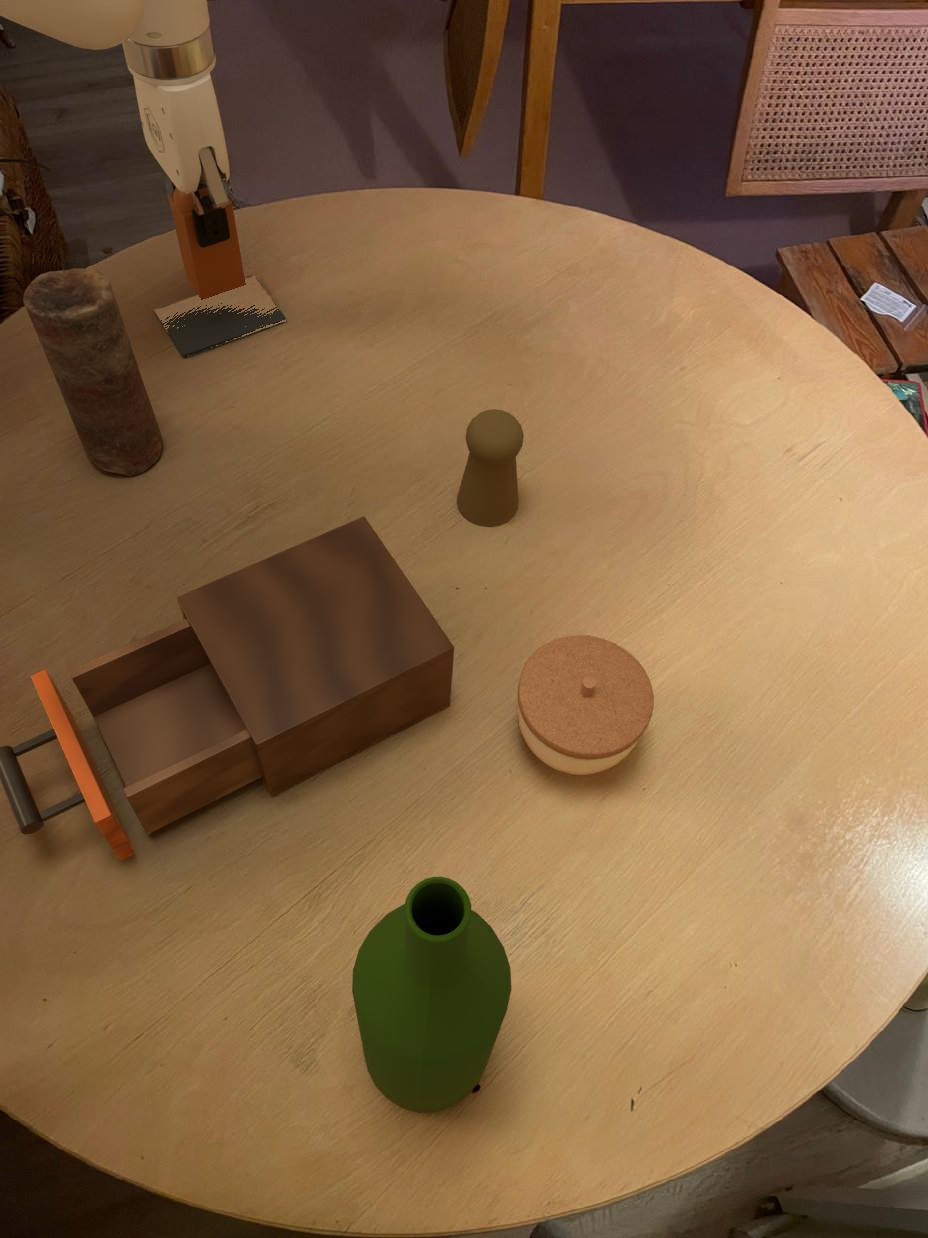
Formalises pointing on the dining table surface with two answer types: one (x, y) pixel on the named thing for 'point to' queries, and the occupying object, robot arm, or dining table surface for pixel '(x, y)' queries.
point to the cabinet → (322, 651)
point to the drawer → (142, 736)
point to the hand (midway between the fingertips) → (204, 226)
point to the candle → (95, 368)
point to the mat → (215, 327)
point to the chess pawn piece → (491, 469)
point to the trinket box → (583, 704)
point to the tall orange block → (206, 250)
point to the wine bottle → (430, 997)
